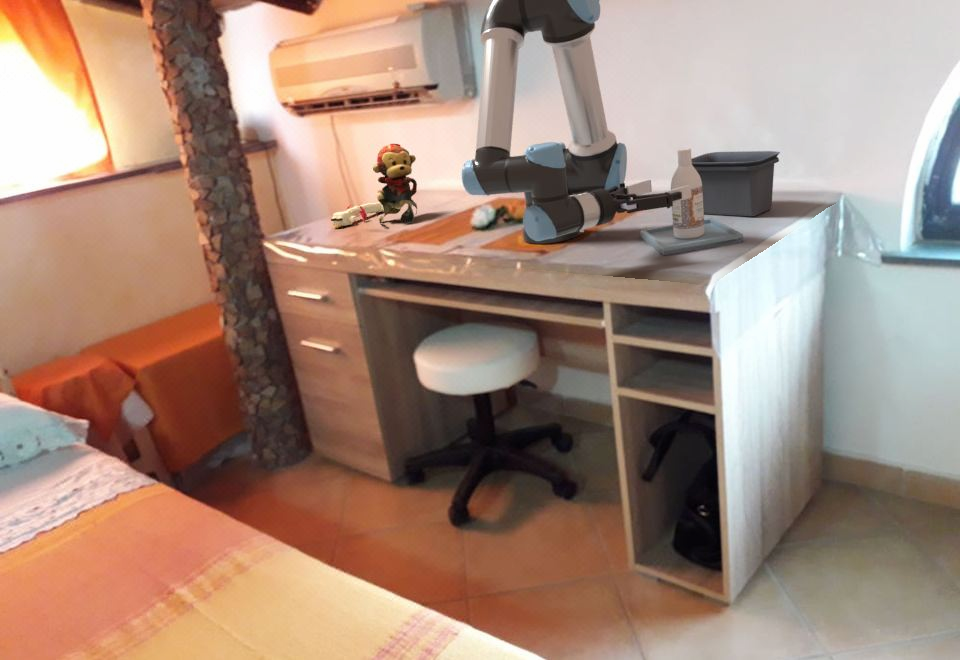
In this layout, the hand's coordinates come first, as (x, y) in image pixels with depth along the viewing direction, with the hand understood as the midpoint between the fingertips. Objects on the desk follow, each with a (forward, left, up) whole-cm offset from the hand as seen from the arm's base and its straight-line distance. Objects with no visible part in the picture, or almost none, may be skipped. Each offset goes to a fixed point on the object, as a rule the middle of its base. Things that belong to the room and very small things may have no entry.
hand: (669, 188), depth 176 cm
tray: (-2, +5, -13) cm, 14 cm away
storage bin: (-21, +24, -13) cm, 34 cm away
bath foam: (-2, +4, -12) cm, 13 cm away
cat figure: (-94, -77, -14) cm, 122 cm away
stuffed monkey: (-80, -63, -13) cm, 103 cm away
